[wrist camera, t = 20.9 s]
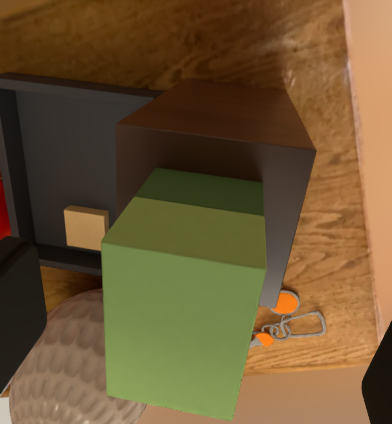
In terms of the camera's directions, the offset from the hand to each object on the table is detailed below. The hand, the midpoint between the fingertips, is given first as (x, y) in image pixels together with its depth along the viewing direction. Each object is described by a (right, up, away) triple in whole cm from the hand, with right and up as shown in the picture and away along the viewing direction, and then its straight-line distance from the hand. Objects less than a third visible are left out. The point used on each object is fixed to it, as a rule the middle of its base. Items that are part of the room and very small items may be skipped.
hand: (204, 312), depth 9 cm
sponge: (0, +1, +7) cm, 7 cm away
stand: (+3, +9, +20) cm, 23 cm away
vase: (-9, -9, +32) cm, 34 cm away
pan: (-10, +6, +24) cm, 27 cm away
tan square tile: (-11, +1, +26) cm, 28 cm away
